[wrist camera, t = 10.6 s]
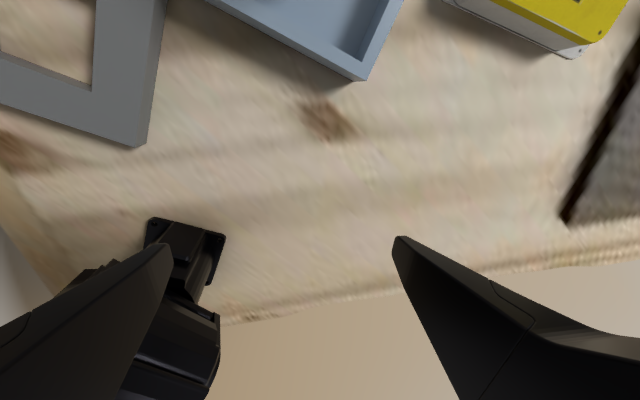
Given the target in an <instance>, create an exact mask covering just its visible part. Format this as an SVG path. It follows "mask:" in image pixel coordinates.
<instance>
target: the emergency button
mask: <svg viewBox="0 0 640 400" xmlns="http://www.w3.org/2000/svg"><path fill="white" fill-rule="evenodd" d="M442 1H444V2H446V3H448V4H450V5H452V6H455V7H457V8H459V9H461V10H463V11H465V12H468V13H470V14H472V15H474V16H476V17H478V18H481V19H483V20H485V21H487V22H489V23H491V24H494V25H496V26H498V27H500V28H502V29H504V30H506V31H509V32H511V33H513V34H515V35H517V36H519V37H522V38H524V39H526V40H528V41H530V42H532V43H535V44H537V45H539V46H541V47H543V48H545V49H548V50H550V51H552V52H554V53H556V54H558V55H560V56H563V57H565V58H567V59H575V58H577V57H579V56H581V55H582V54H583V53H584V52H585V51H586V49H587V48H588V46H589V44H592V43H595V42H597V41H599V40H601V39H602V38H603V37H604V36H605V35H606V33H607V32H608V31H609V29H610V28H611V26H612V25H613V23H614V22H615V20H616V19H617V17H618V15H619V14H620V12H621V11H622V9H623V8H624V6H625V5H626V3H627V1H628V0H442Z"/></svg>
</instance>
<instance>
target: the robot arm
mask: <svg viewBox="0 0 640 400" xmlns="http://www.w3.org/2000/svg"><path fill="white" fill-rule="evenodd" d="M154 222H156V223H157V224H155V223H154ZM218 238H221V239H222V240H219V239H218ZM225 241H226V236H225V235H224V234H221V233H217V232H213V231H209V230H205V229H202V228H198V227H195V226H191V225H187V224H183V223H179V222H174V221H170V220H166V219H162V218H158V217H153V218H151V219H150V220H149V222H148V225H147V231H146V237H145V242H144V248H143V250H142V251H140V252H139V253H137V254H135V255H133V256H131V257H129V258H127V259H126V260H124V261H122V262H119V261H117V260H115V259H112V260H111V261H110V262H109V263H108V264H107V265H106V266H103V265H101V266H100V267H99V268H98V269H85V270H84V271H82V272H81V273H80V274H79V275H78V276H77V277H76V278H75V279H74V280H73V281H72V282H71V283H70V284H68V285H67V286H66V287H65V288H64V289H63V290H62V291H61V292H60V293H58V294H57V295H56V296H55V297H54V298H53V299H52V300H50V301H48V302H46V303H44V304H42V305H41V306H39V307H37V308H35V309H33V310H32V312H27V313H26V314H24V315H22V316H20V317H18V318H16V319H15V320H13V321H11V322H9V323H7V324H5V325H3V326H1V327H0V400H204V399H205V397H206V396H207V394H208V392H209V388H210V386H211V384H212V382H213V380H214V378H215V376H216V372H217V369H218V367H219V362H220V315H219V314H217V313H215V312H213V313H212V312H210V311H208V310H206V309H204V308H202V307H200V306H199V305H197V304H198V301H199V299H200V296H201V294H202V291H203V288H204V286H208V285H210V284H211V282H212V280H213V277H214V274H215V271H216V268H217V265H218V262H219V259H220V256H221V253H222V250H223V247H224V244H225ZM392 258H393V260H394V263H395V266H396V268H397V271H398V274H399V276H400V279H401V282H402V284H403V287H404V289H405V291H406V293H407V295H408V297H409V299H410V301H411V303H412V305H413V307H414V309H415V311H416V313H417V315H418V317H419V319H420V321H421V323H422V325H423V327H424V329H425V331H426V333H427V335H428V337H429V339H430V341H431V343H432V345H433V347H434V349H435V351H436V353H437V355H438V357H439V360H440V361H441V364H442V366H443V367H444V370H445V372H446V374H447V375H448V378H449V380H450V382H451V384H452V385H453V387H454V390H455V392H456V394H457V395H458V397H459V400H640V338H634V337H627V336H620V335H615V334H610V333H606V332H603V331H599V330H596V329H594V328H591V327H588V326H586V325H584V324H582V323H579V322H577V321H575V320H573V319H571V318H569V317H566V316H564V315H562V314H560V313H558V312H556V311H554V310H551V309H549V308H547V307H545V306H543V305H541V304H538V303H536V302H534V301H532V300H530V299H528V298H526V297H524V296H522V295H519V294H517V293H515V292H513V291H511V290H509V289H508V288H506V287H504V286H501V285H500V284H498V283H496V282H494V281H492V280H488V278H486V277H484V276H482V275H480V274H478V273H476V272H475V271H473V270H471V269H469V268H467V267H465V266H463V265H461V264H459V263H457V262H455V261H453V260H451V259H450V258H448V257H446V256H444V255H442V254H440V253H438V252H436V251H434V250H432V249H430V248H428V247H426V246H425V245H423V244H421V243H419V242H417V241H415V240H413V239H411V238H409V237H407V236H397V237H396V238H395V240H394V244H393V248H392Z"/></svg>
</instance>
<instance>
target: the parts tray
mask: <svg viewBox="0 0 640 400" xmlns="http://www.w3.org/2000/svg"><path fill="white" fill-rule="evenodd" d="M204 1H206V2H208V3H210V4H211V5H213V6H215V7H217V8H219V9H221V10H222V11H224V12H226V13H228V14H230V15H232V16H234V17H235V18H237V19H239V20H241V21H243V22H245V23H246V24H248V25H250V26H252V27H254V28H256V29H258V30H259V31H261V32H263V33H265V34H267V35H269V36H271V37H272V38H274V39H276V40H278V41H280V42H282V43H283V44H285V45H287V46H289V47H291V48H293V49H295V50H296V51H298V52H300V53H302V54H304V55H306V56H307V57H309V58H311V59H313V60H315V61H317V62H319V63H320V64H322V65H324V66H326V67H328V68H330V69H331V70H333V71H335V72H337V73H339V74H341V75H343V76H344V77H346V78H348V79H350V80H352V81H354V82H357V81H367V79H368V76H369V74H370V72H371V70H372V68H373V66H374V64H375V61H376V59H377V57H378V55H379V53H380V51H381V49H382V46H383V44H384V42H385V40H386V38H387V36H388V33H389V31H390V29H391V27H392V25H393V23H394V21H395V18H396V16H397V14H398V12H399V10H400V8H401V6H402V3H403V1H404V0H204Z"/></svg>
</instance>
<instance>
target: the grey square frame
mask: <svg viewBox="0 0 640 400" xmlns="http://www.w3.org/2000/svg"><path fill="white" fill-rule="evenodd" d="M166 7H167V0H96V18H95V37H94V55H93V73H92V86H91V85H88V84H86V83H83V82H81V81H78V80H75V79H73V78H70V77H67V76H65V75H62V74H60V73H57V72H54V71H52V70H49V69H46V68H44V67H41V66H39V65H36V64H33V63H31V62H28V61H26V60H23V59H20V58H18V57H15V56H12V55H10V54H7V53H5V52H2V51H0V103H1V104H4V105H7V106H10V107H13V108H16V109H19V110H22V111H25V112H28V113H31V114H34V115H37V116H40V117H43V118H46V119H49V120H52V121H55V122H58V123H61V124H65V125H68V126H71V127H74V128H77V129H80V130H83V131H86V132H89V133H92V134H95V135H98V136H101V137H104V138H107V139H110V140H113V141H116V142H119V143H122V144H125V145H128V146H131V147H134V148H136V147H138V146H140V145H143V144H145V143H146V141H147V134H148V127H149V121H150V114H151V107H152V101H153V94H154V87H155V81H156V74H157V67H158V61H159V54H160V47H161V40H162V34H163V27H164V20H165V14H166Z"/></svg>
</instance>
